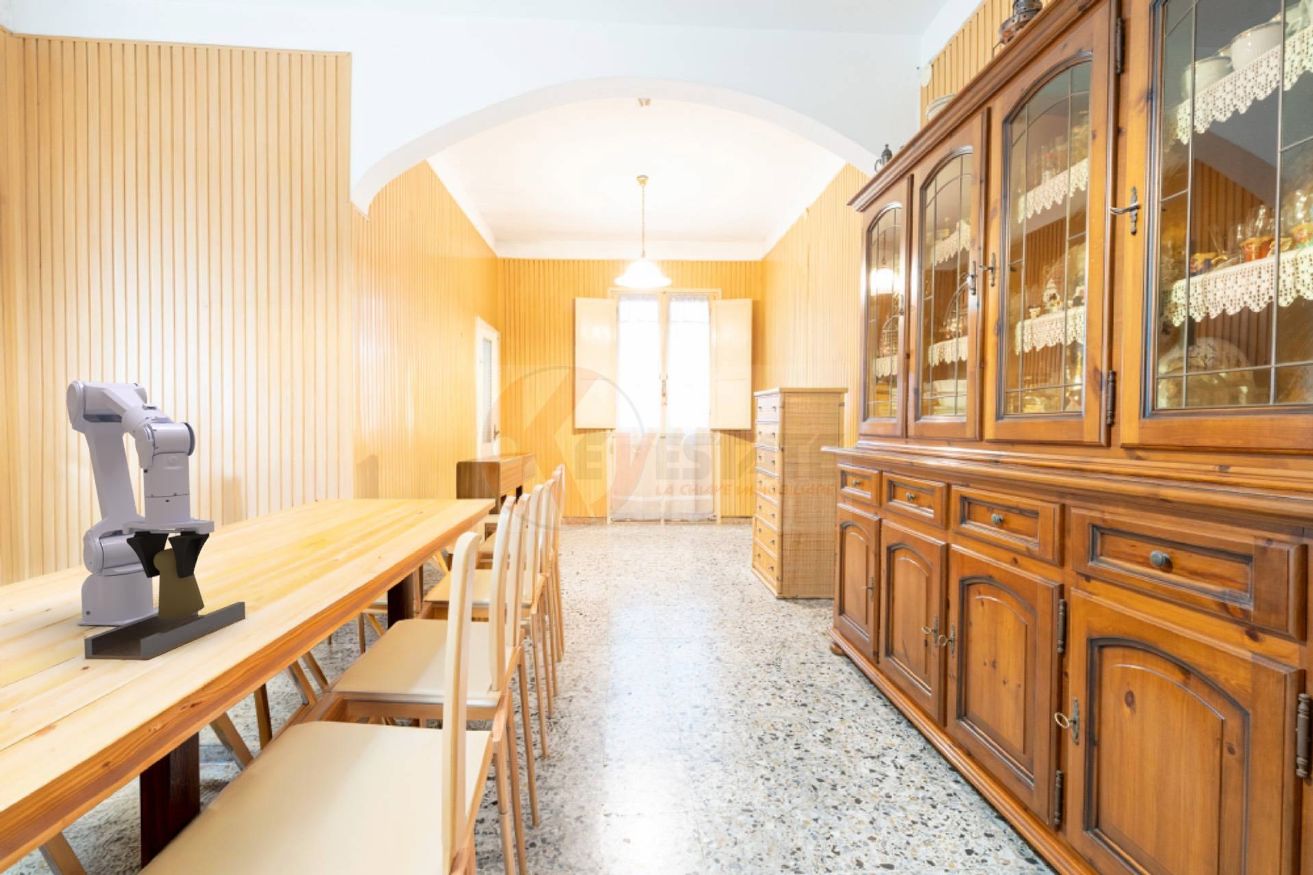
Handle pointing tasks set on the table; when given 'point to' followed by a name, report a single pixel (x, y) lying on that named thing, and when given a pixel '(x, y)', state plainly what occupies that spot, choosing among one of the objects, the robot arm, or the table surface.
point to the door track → (158, 634)
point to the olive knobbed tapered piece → (175, 589)
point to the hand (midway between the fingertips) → (170, 576)
